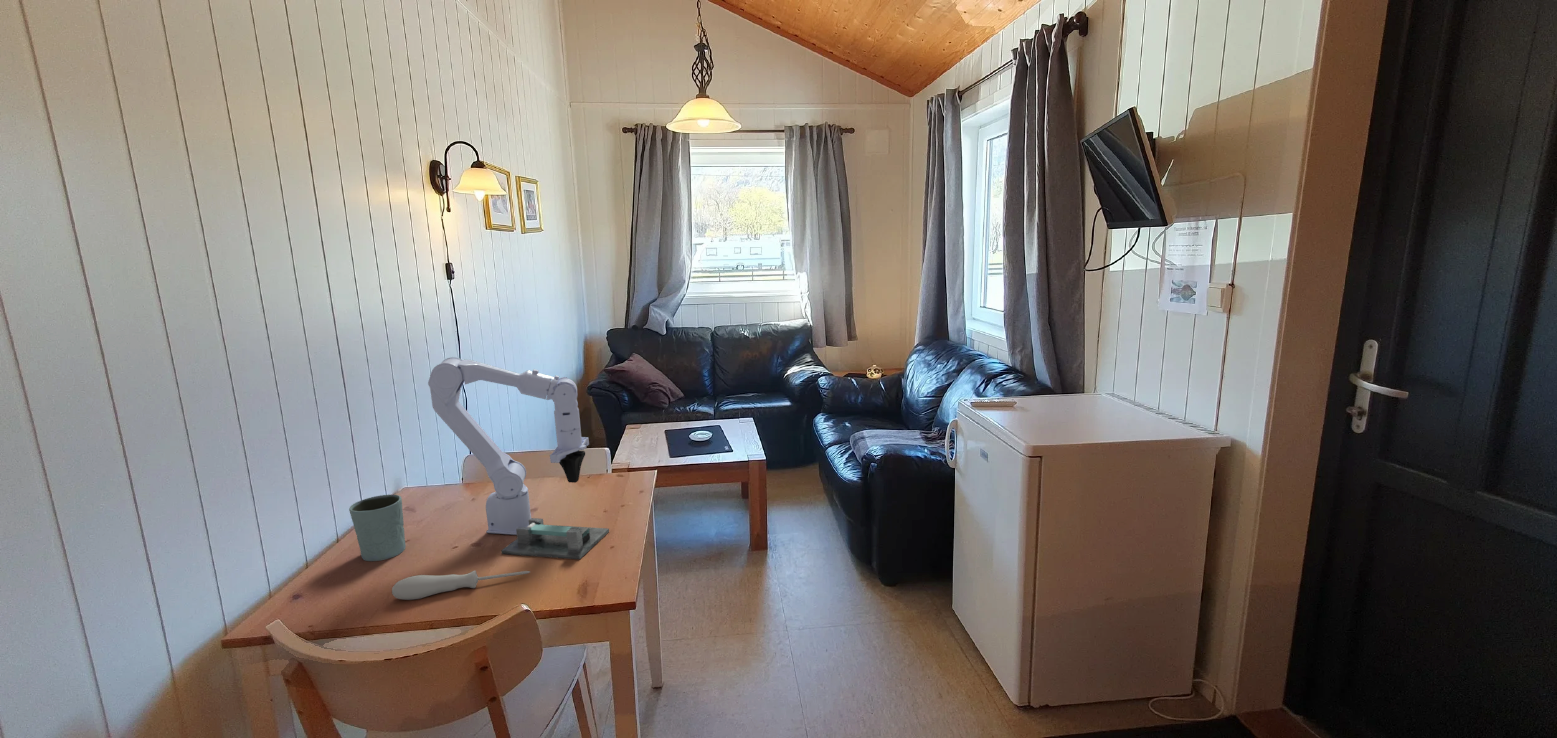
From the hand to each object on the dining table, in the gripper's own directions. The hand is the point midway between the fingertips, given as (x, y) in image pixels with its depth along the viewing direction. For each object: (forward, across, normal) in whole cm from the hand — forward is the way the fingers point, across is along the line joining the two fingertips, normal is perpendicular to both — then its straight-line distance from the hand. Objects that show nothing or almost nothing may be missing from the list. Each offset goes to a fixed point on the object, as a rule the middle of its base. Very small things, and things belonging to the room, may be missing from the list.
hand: (573, 481), depth 158 cm
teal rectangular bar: (+8, -13, -2) cm, 15 cm away
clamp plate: (+10, -13, -2) cm, 16 cm away
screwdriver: (+10, -34, +5) cm, 36 cm away
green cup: (+10, -23, +35) cm, 43 cm away
